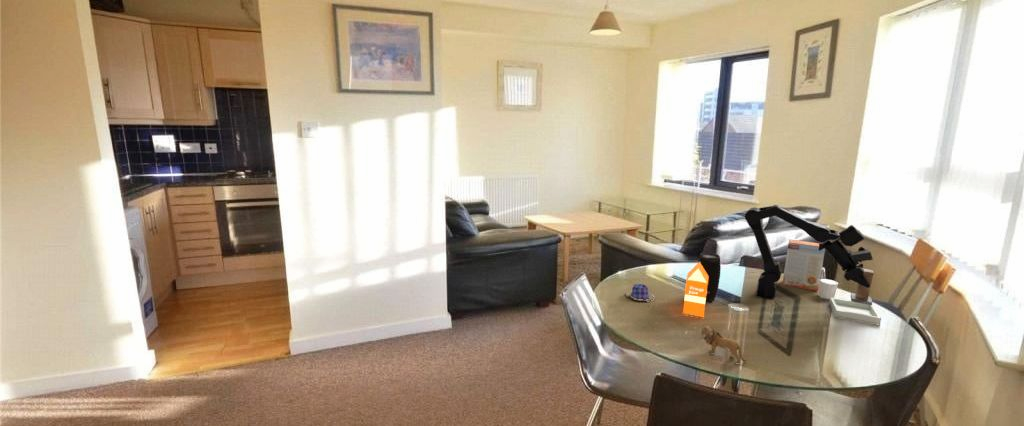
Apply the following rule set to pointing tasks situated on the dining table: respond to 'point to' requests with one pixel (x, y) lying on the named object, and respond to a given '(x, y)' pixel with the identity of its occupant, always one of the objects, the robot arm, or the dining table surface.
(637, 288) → the plaid hat
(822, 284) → the white cylinder
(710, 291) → the black tall cylinder
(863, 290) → the wooden post with base
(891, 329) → the dining table surface
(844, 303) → the tray
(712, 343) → the lion figurine
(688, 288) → the orange juice
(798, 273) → the cracker box
